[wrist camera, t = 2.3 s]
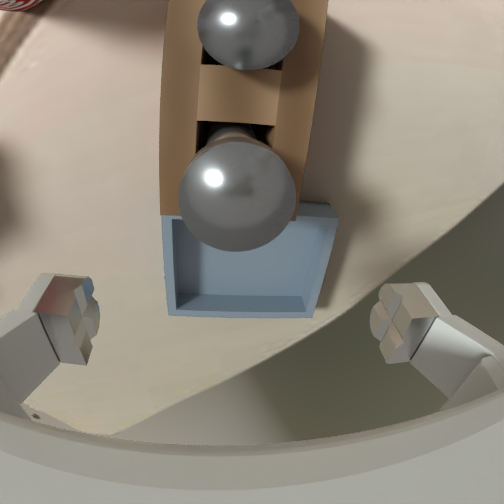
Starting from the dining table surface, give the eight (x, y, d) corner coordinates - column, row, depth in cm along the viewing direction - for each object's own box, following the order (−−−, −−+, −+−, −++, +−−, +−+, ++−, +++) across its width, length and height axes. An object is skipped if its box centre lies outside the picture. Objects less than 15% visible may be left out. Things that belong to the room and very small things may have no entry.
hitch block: (305, 1, 18) (330, -17, 13) (281, 188, 26) (295, 221, 21) (184, -9, 17) (172, -32, 12) (172, 182, 25) (160, 215, 20)
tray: (328, 203, 27) (339, 218, 25) (305, 298, 33) (312, 317, 31) (167, 194, 26) (161, 209, 23) (171, 295, 32) (168, 315, 29)
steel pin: (266, 109, 23) (304, 149, 12) (259, 169, 25) (286, 253, 15) (200, 105, 22) (178, 141, 12) (197, 166, 25) (178, 249, 14)
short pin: (277, 13, 18) (304, -12, 11) (270, 73, 21) (293, 75, 14) (209, 8, 18) (202, -22, 11) (203, 68, 20) (193, 67, 13)
